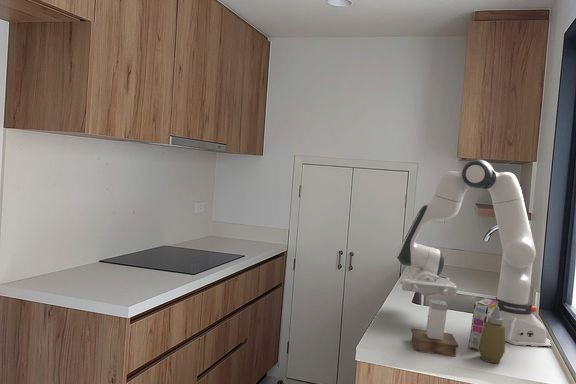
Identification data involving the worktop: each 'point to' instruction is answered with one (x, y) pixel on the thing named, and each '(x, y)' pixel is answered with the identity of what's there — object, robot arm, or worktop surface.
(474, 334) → the candy bar box
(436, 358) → the worktop surface
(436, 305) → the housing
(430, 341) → the stand
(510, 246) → the robot arm
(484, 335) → the squeeze bottle
